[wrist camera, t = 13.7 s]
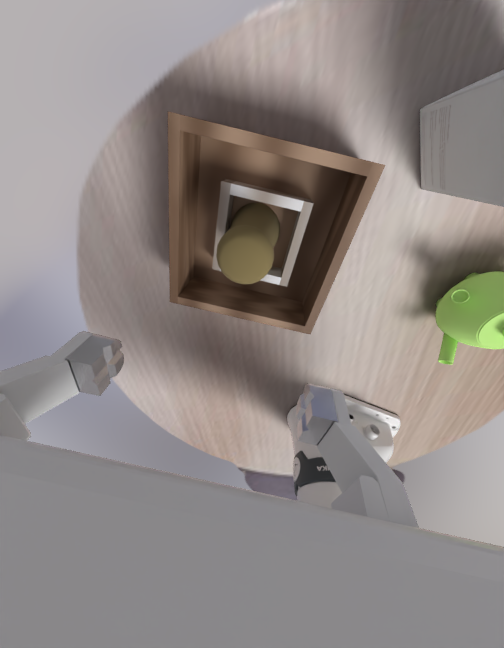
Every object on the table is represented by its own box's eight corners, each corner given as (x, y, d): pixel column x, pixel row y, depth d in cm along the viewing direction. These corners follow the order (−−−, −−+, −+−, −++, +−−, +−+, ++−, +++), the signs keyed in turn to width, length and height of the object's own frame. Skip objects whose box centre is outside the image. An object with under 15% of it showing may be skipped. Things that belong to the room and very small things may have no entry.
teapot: (535, 246, 27) (618, 276, 21) (507, 325, 33) (565, 368, 27) (425, 269, 30) (465, 302, 23) (417, 338, 36) (448, 379, 29)
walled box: (362, 163, 25) (385, 165, 19) (306, 305, 35) (310, 334, 30) (195, 122, 24) (167, 111, 19) (188, 278, 35) (169, 301, 29)
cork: (225, 243, 30) (200, 280, 21) (240, 193, 27) (217, 212, 18) (268, 261, 31) (262, 303, 22) (288, 214, 27) (290, 243, 19)
